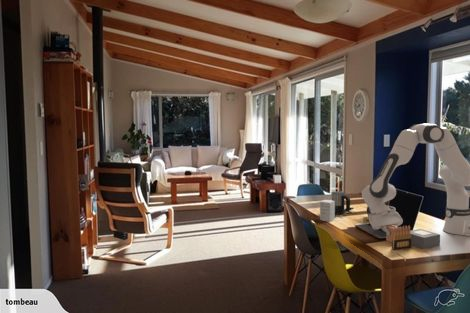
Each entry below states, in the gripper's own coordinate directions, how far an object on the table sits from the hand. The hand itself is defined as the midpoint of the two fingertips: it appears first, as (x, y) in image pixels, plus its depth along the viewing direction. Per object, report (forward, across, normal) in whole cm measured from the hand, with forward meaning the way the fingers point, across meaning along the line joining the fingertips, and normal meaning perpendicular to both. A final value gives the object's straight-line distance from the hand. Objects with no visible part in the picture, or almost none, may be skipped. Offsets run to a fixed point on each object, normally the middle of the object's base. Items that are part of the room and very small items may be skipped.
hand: (393, 233), depth 213 cm
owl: (-24, +26, +31) cm, 47 cm away
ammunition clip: (+10, -5, -4) cm, 12 cm away
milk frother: (-42, +20, +49) cm, 67 cm away
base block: (+10, +10, -4) cm, 15 cm away
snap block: (+3, 0, +4) cm, 4 cm away
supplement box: (-34, -2, +41) cm, 53 cm away
